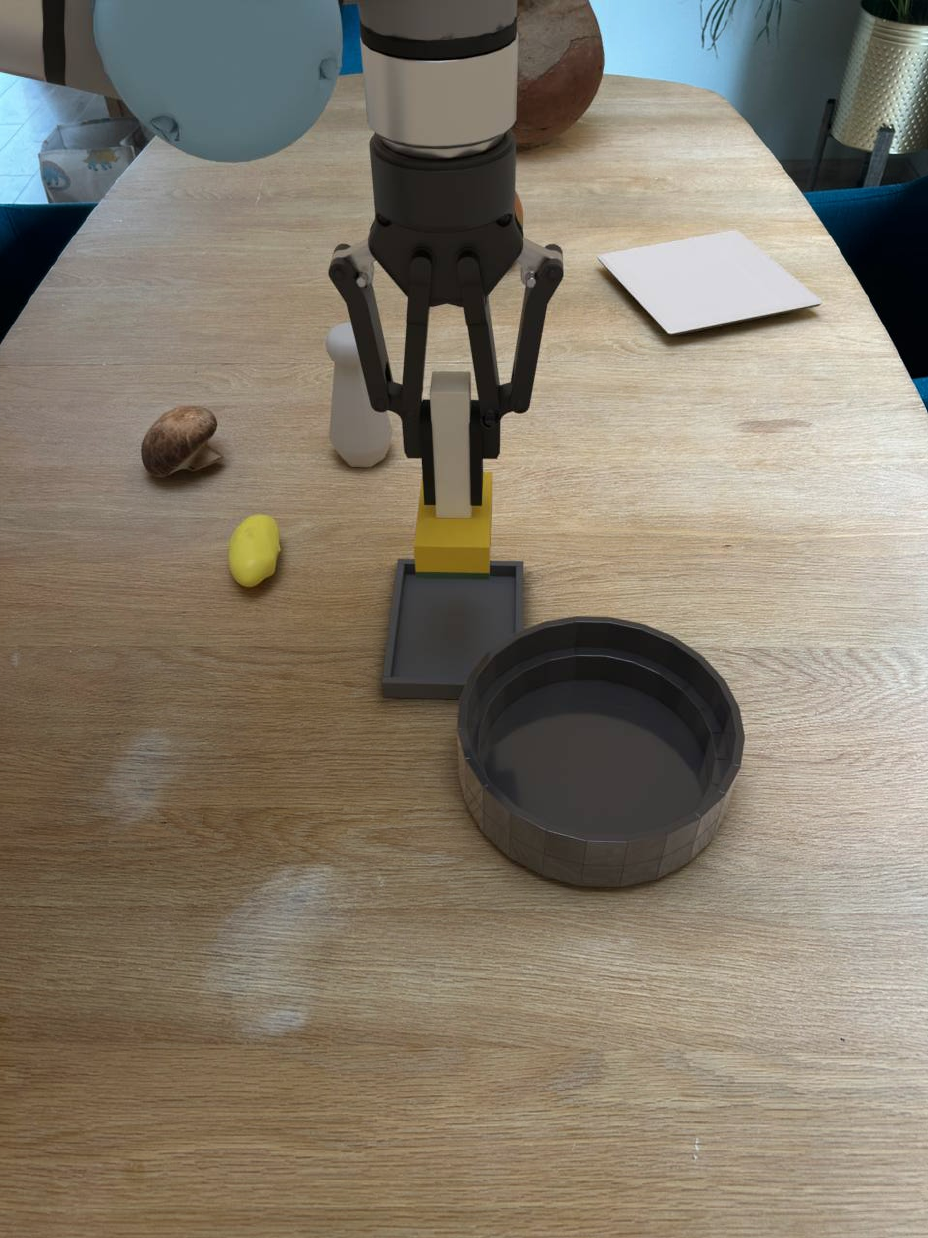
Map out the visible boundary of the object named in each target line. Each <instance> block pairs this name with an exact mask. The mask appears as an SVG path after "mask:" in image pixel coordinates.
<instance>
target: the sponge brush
mask: <svg viewBox="0 0 928 1238" xmlns="http://www.w3.org/2000/svg"><path fill="white" fill-rule="evenodd" d="M429 399H430V406H431V422H432V441H433V461H434V481H435V502H436V504H435V505H424V493H423V477H422V476H421V480H420V481H421V482H420V489H419V490H420V491H419V497H418V506H417V507H418V508H417V515H416V524H415V531H414V532H415V533H414V541H413V553H414V559H415V570H416V578H426V579H482V580H489V577H490V560H491V549H492V521H493V472H492V471H483V495H482V506H471V493H470V436H469V423H470V412H471V400H472V373H471V371H469V370H468V371H467V370H466V371H463V370H462V371H458V370H457V371H453V370H452V371H451V370H450V371H449V370H448V371H447V370H444V371H443V370H442V371H441V370H433V371H432V372H431V380H430V388H429Z"/></svg>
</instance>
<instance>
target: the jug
mask: <svg viewBox="0 0 928 1238" xmlns="http://www.w3.org/2000/svg"><path fill="white" fill-rule="evenodd" d="M517 32H518V70H517V111H516V121H515V122H514V124H513V126H512V127H511V128H510V129H511V131H512V132H513V133H514V135H515V137H516V152H527V151H530V150H532V149H538V148H540V147H543V146H544V147H545V146H547V145H550V144H551V142H552V141H553V139H555V138H556V137H559V136H560V135H561V134H563V133H565V132H566V131H568V130H569V129H570V128H571V127H572V126H573V125H574V124H575V123H576V122H578V121H579V119H581V118H582V117H583V115H585V113H586V112H587V111H588V109H589V108H590V106H591V105H592V103H593V102H594V99H595V98H596V96H597V93H598V91H599V89H600V86H601V84H602V80H603V77H604V71H605V65H606V58H605V57H606V55H605V54H606V53H605V47H604V42H603V41H604V40H603V36H602V32H601V27H600V24H599V20H598V18H597V16H596V13H595V12H594V9H593V7H592V4H591V2H590V0H517Z"/></svg>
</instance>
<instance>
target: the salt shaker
mask: <svg viewBox="0 0 928 1238" xmlns="http://www.w3.org/2000/svg"><path fill="white" fill-rule="evenodd" d="M325 348H326V353H327V354H328V356H329V358H330V360H331V361H332V362H333V363H334V367H333V380H332V390H331V391H332V392H331V404H330V405H331V407H330V419H329V431H328V437H329V441H330V442H331V445H332V446H333V448H334V450H335V451H336V452H337V453H338V454H339V456H340V458H341V459H342V460H343V461H344V462H345V463H346V464H348V466H349V467H351V468H372V467H374V466H376V465H377V464H379V463H380V462H382V461H383V460H384V459H385V458H386V456H387V453H388V451H389V448H390V445H391V444H392V438H393V432H394V431H393V430H394V429H393V426H392V422H391V420H390V417H389V413H388V410H387V411H386V412H383V413H381V412H377V411H375V410H373V409H372V407H371V404H370V400H369V396H368V392H367V388H366V383H365V379H364V375H363V371H362V367H361V363H360V358H359V354H358V350H357V346H356V342H355V338H354V333H353V329H352V325H351V321H346V322H342V323H339V324H336V325H335V326H334V327H332V328H331V329H330V330H329V331H328V332H327V335H326V337H325Z"/></svg>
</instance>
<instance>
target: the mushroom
mask: <svg viewBox="0 0 928 1238" xmlns="http://www.w3.org/2000/svg"><path fill="white" fill-rule="evenodd" d="M217 428H218V421H217V417H216V416H215V414H214V413H213V412H212V411H211V410H209V409H208V408H206V407H203V406H200V405H199V406H197V405H184V406H183V405H182V406H177V407H174V408H172V409H170V410H167V411H166V412H164V413H163V414H162V415H161V416H159V418H157V420H156V421H154V423H152V425H151V426H150V427H149V429H148V430H147V431H146V433H145V436H144V437H143V440H142V442H141V447H140V448H141V449H140V455H141V461H142V464H143V466H144V468H145V470H146V471H147V472H148V473H149V474H150V475H152V476H153V477H157V478H164V477H167V476H170V475H172V474H173V473H175V472H177V471H179V470H183V469H184V470H185V469H186V470H189V471H190V472H196V471H199V470H201V469H203V468H206V467H208V466H210V465H212V464H215V463H217V462H219V461H221V460H222V459H224V456H223V455H221V454H220V453H218V452H217V451H215V450H213V448H211V446H209V444H208V442H209V440H210V439H212V437H213V436H214V435H215V432H216V431H217Z"/></svg>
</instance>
